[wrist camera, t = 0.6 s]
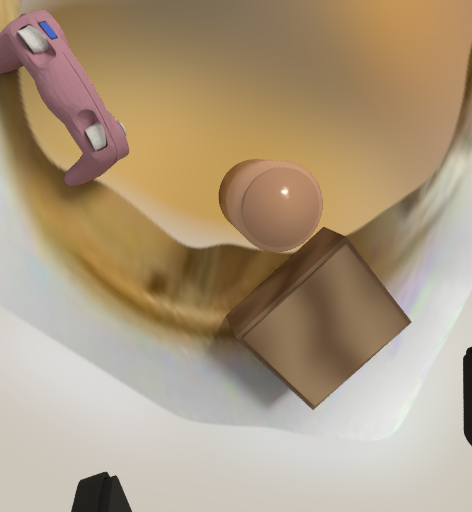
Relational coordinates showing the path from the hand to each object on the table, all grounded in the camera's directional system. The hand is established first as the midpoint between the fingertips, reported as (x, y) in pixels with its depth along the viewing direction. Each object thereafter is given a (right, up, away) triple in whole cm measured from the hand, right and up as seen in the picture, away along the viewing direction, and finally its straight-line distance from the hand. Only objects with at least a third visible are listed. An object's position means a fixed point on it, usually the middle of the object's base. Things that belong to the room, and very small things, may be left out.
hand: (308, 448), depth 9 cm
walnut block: (+5, 0, +25) cm, 26 cm away
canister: (0, +10, +21) cm, 23 cm away
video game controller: (-14, +15, +17) cm, 27 cm away
